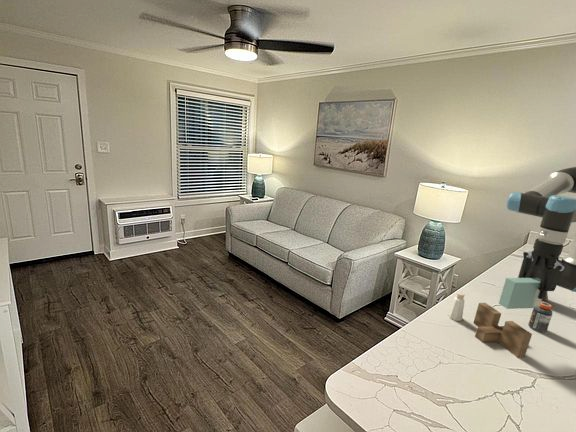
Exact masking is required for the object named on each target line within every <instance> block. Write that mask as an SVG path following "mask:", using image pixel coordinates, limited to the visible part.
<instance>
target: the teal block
mask: <svg viewBox="0 0 576 432" xmlns="http://www.w3.org/2000/svg"><path fill="white" fill-rule="evenodd" d="M540 281H541V279H539V278H518V277H505V282H504V284H503V287H502V291H501V294H500V298H499V300H498V301H499V302H498V304H499V305H500V306H502V307H503V308H505V309H506V310H512V309H514V310H515V309H516V310H517V309H533V308H539V307H540V306H532V302H533V299H534V296H535V293H536V290H537V289H538V288H540ZM541 301H542V300H541ZM540 304H541V303H540Z"/></svg>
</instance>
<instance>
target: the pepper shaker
mask: <svg viewBox="0 0 576 432" xmlns="http://www.w3.org/2000/svg"><path fill="white" fill-rule="evenodd" d="M464 298H465V293H463V292H461V291H457V292H456V295H455V297H454V298H453V301H452V303H451V305H450V308H449V310H448V313H447V317H448V318H449V319H450V320H453V321H455V322H461V321H462V320H463V314H464V308H465V307H464V306H465V299H464Z"/></svg>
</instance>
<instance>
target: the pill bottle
mask: <svg viewBox="0 0 576 432" xmlns="http://www.w3.org/2000/svg"><path fill="white" fill-rule="evenodd" d="M551 309H552V305H551V304H550V303H548V302H547V303H546V302H542V301H541V304H540V307H539V308H532V312H531V314H530V319H529V321H528V327H529V328H530V329H531V330H533V331H535V332H538V333H542V334H543V333H546V332H548V329H549V326H550V323H551V319H552V317H553V311H552V310H551Z"/></svg>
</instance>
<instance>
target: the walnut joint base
mask: <svg viewBox="0 0 576 432" xmlns="http://www.w3.org/2000/svg"><path fill="white" fill-rule="evenodd" d="M501 315H502V313H501V312H500V311H498V310H497V309H496V308H494V307H492V306H491V305H490V304H488V303H486V302H478V305H477V309H476V313H475V316H474V320H473V324H475V326H476V327H477V328H476V332H475V335H474V337H475V338H476V339H478V340H479V341H480V342H481V343H496V342H497V343H498V344H500V345H501V346H502V347H503V348H504V349H506V350H508V352H509V353H511V354H512V355H514V356H515V357H516V358H525V356H526V354H527V352H528V348H529V344H530V341H531V339H532V336H533V334H532V333H531V332H530V331H528V330H527V329H526V328H524V327H522V326H521V325H519V324H518V323H516V322H514V321H513V320H506V321H505V322H504V325H503V326H501V325H499V322H500V319H501Z"/></svg>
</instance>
